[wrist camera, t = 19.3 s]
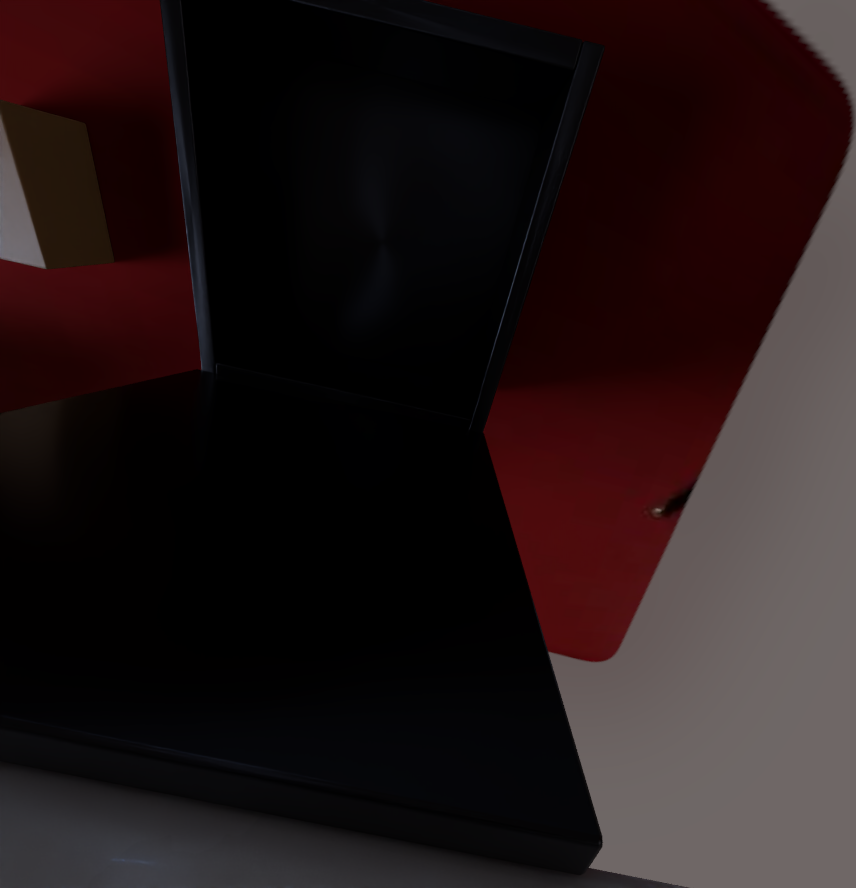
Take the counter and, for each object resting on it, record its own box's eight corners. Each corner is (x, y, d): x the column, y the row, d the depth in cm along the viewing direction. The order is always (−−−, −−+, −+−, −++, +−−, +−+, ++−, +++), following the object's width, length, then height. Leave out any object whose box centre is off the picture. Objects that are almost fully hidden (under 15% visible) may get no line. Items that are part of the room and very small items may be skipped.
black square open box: (247, 21, 18) (151, -69, 12) (564, 99, 18) (606, 45, 13) (257, 342, 26) (201, 373, 20) (479, 392, 26) (482, 435, 21)
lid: (-745, 576, 4) (-479, 833, 6) (608, 846, 5) (495, 1016, 6) (196, 368, 20) (195, 454, 21) (484, 432, 20) (461, 512, 22)
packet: (12, 106, 20) (-95, 77, 16) (86, 123, 20) (-4, 98, 16) (53, 248, 24) (-28, 252, 20) (115, 262, 24) (47, 269, 20)
